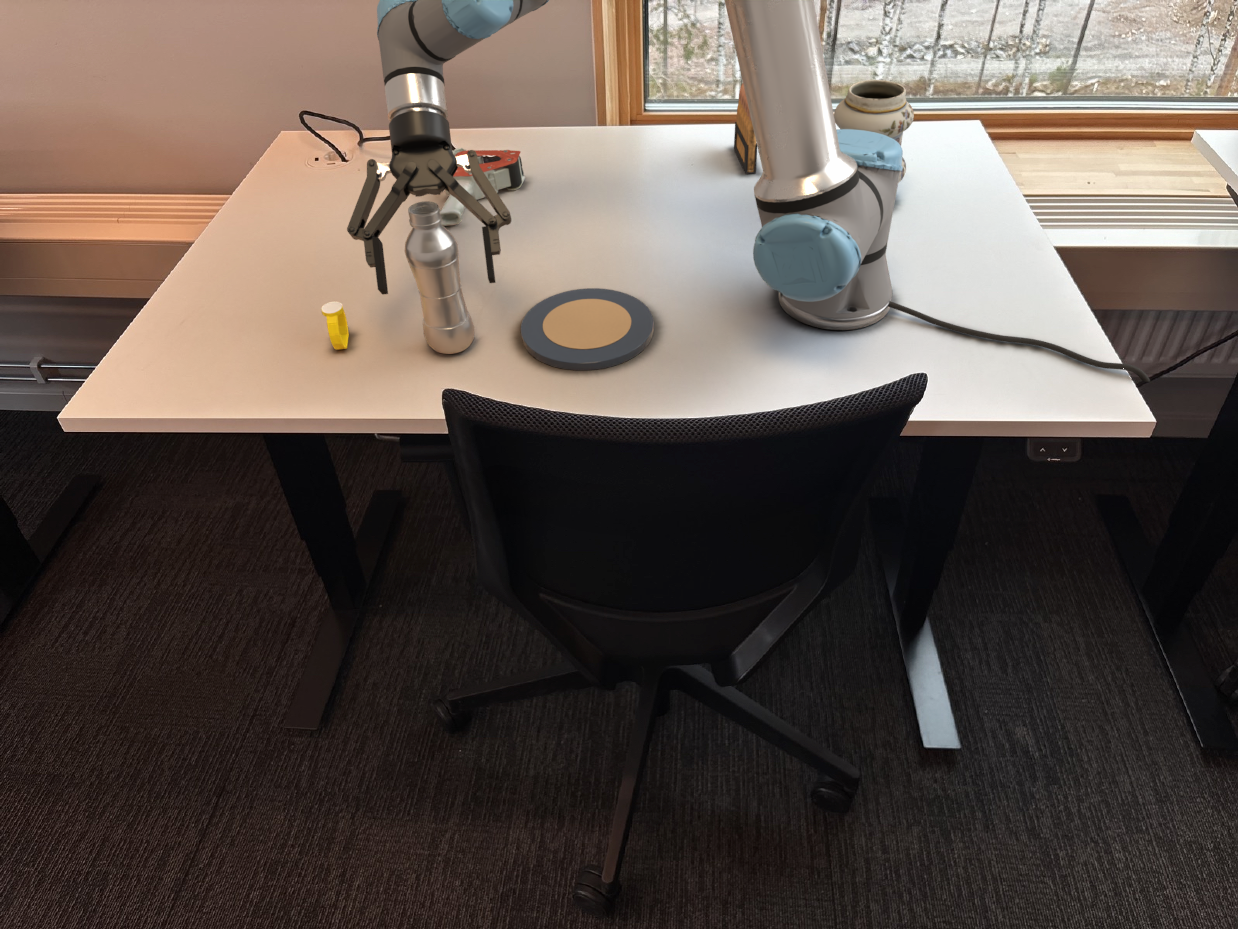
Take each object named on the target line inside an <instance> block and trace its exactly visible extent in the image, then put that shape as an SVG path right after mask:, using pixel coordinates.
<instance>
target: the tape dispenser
mask: <svg viewBox="0 0 1238 929" xmlns="http://www.w3.org/2000/svg"><path fill="white" fill-rule="evenodd" d="M469 150H470V149H468V150H467V149H464V148H463V147H458V148H455V149H454V150H452V152H453V154H454V156H455V157H457V156H462V155H466V154H467V152H468V151H469ZM473 150H474V151H475V152H476V154H477V158H478V162H479V166H480V168H481V169H482V171H483V172H484V174H485V175H486V177H487V178H488V180H489V181H490V183H491V184H492V186H493V188H494V189H495V191H496V192H497V194H498V193H499V190H502V189H506V190H507V191H516V190H519V189H521V187H522V185H523V184H524V181H525V179H526V176H525V172H524V169H523V163H522V157H521V156H520V154H521V151H520V150H512V149H501V150H500V149H499V150H498V149H491V150H490V149H487V150H485V149H482V150H479V149H477V150H476V149H473ZM486 156H490V157H493V156H495V157H497V158H498V157H499V160H496V161H490V162H484V157H486ZM453 178H454V179H456V181H457V182H458V183H459V184H460V185H461V186H462V187H463V188H464V189H465V190H466V191H467V192H468V193H469V194H471V195H472V196H473V197H474V198H475V199H476V200H477V201H479V200H481V199H484V198H486V197H485V195H484V194H483V192H482V191H481V189H480V188H479V186H478V185H477V183H476V182H475V180H474V178H473V176H472V173H467V172H465V170H464V169H463V168H462V167H458V168H457V170H456V172H455V174H454V176H453ZM444 191H445V194H446V195H447V196H448V197H447V199H446V200H445V202H444V204H443V206H442V208H441V209H440V214H441V216H442V222H441V224H442V225H443V226H444V227H445V226H446V227H447V226H456V225H459V224H460V223H461V222H462V220H463V219H462V218H463V216H462V215H463V213H464V212H465V209H466V207H465V206H464V205H463V204H462V203H460V202H459V201H458V200H457V199H456V198H455V197H453V196H452V195H451V194H450V193H449V192H448V191H447V190H446V189H445V190H444Z"/></svg>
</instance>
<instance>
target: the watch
mask: <svg viewBox="0 0 1238 929" xmlns="http://www.w3.org/2000/svg"><path fill="white" fill-rule="evenodd" d="M320 312H321V314H322V316H324V317H325V318H326V327H327V333H328V336H329V341H330V343H331V345H332V347H333V349H334V350H337V351H338V350H347V349H348V344H349V337H350V334H349V325H348V320H347V316H346V315H347V314H346V313H345V309H344V305H343V304H342V303H341V302H340V301H329V302H326V303H324V304H323V305H322V306H321V309H320Z"/></svg>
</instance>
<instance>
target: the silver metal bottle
mask: <svg viewBox="0 0 1238 929" xmlns="http://www.w3.org/2000/svg"><path fill="white" fill-rule="evenodd" d="M440 211H441V209H440V206H439V203H437V202H434V201H430V200H429V201H427V200H426V201H418V202H416V203H413V204H411V205H409V207H408V210H407V213H408V217H409V219H408V222H409V225H410V227H411V230H410V231H409V233H408V235H407V237H406V240H405V242H404V254H405V258H406V260H407V263H408V265H409V268H410V270H411V273H412V276H413V277H414V281H415V284H416V286H417V290H418V294H419V297H420V298H419V299H420V304H421V312H422V329H423V336H424V338H425V340H426V344H427V345H428V346H429V347H430V348H431V349H432V350H434V351H435V352H437V353H439V354H445V355H452V354H458V353H462V352H463V351H465V350H466V349H468V348H469V347H470V346H471V345H472V343H473V342H474V339H475V325H474V322H473V320H472V317H471V314H470V312H469V310H468V307H467V304H466V300H465V296H464V294H463V288H462V282H461V275H460V259H459V258H460V255H459V244H458V241H457V239H456V238H455V236H454V235H453V234H452V233H451V232H450V230H449V229H447V228H446V227H445V226H443V225H442V224H441V222H442V216H441V214H440Z"/></svg>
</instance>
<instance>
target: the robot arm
mask: <svg viewBox="0 0 1238 929" xmlns="http://www.w3.org/2000/svg"><path fill="white" fill-rule="evenodd" d="M548 2H550V0H379V1H378V3H377V7H376V19H377V28H376V29H377V31H376V36H377V40H378V44H379V53H380V54H379V55H380V62H381V70H382V78H383V85H384V95H385V106H386V114H387V119H388V121H389V124H388V131H389V132H388V133H389V140H390V149H391V158H390V161H389V162H377V161H376V159H373V158H369V159H368V160H367V162H366V178H365V181H364V183H363V186H362V188H361V190H360V194H359V197H358V199H357V202H356V204H355V206H354V209H353V212H352V214H351V217H350V219H349V222H348V225H347V227H346V232H347V233H348V234H349V235H350V237H351V238H352V239H353V240H355V241H363V245H364V254H365V261H366V263H367V266H368V267H369V268H375V276H376V286H377V290H378V291H379V293H380V295H389V290H388V280H387V273H386V272H387V271H386V262H385V253H384V245H383V242H382V240H381V239H380V238H379V237H380V236H381V234H382V233H383V231H384V230H385V229H386V227H387V225H388V224H389V223H390V221H391V220H392V219H393V217H394V215H395V214H396V213H397V211H398V210H399V208H400V207H401V206H402V204H403V203H404V202H406V200H408V198H409V196H410V195H412V196H415V197H417V198H419V197H424V196H426V195H431V196H439V195H441V194H442V193H443V192H444V191H446V190H447V191H448V192H449V193H450V194H451V195H452V196H453V197H455V198H456V199H457V200H458V201H459V202H460V203H462V204H463V205H464V206H465V209H467V210H468V211H469V212H470V213H471V214H472V215H473V216H474V217H475V218H476V219H477V220H479V221H480V223H482V224H483V225H484V226H481V233H482V239H483V247H484V257H485V258H484V259H485V266H486V273H487V280H488V283H489V284H495V283H496V276H495V267H494V266H495V265H494V259H493V256H498V255H501V251H502V250H501V241H500V233H499V231H500V229H501V228H502V227H504V226H509V225H510V224H511V223H512V216H511V212H510V210H509V208H507V205H506V204H505V203H504V201H503V200H502V197H501V196H500V195H499V194H498V193H497V192H496V191H495V189H494V188H493V186H492V184H491V183H490V181H489V180H488V178H487V177H486V175H485V174H484V172H483V171H482V169H481V168H480V166H479V162H478V158H477V154H476V152H475V151H474V150H475V149H468V150H469V151H468V152H467V154H466V155H462V156H457V157H455V156H454V154H453V152H452V151H453V146H452V138H451V137H452V136H451V129H450V128H451V127H450V122H449V120H448V117H449V112H448V110H449V109H448V102H447V94H446V84H445V78H444V68H443V67H444V64H445V63H448V61H450V60H452V59H454V58H456V56H458V55H460V54H461V53H463V52H465V51H466V50H468V49H470V48H472V47H474V46H475V45H477V44H478V43H480V42H482V41H484V40H486V39H489V38H490V37H492V35H494V34H496V33H498V32H499V31H501V30H502V29H503V28H505V27H507V26H508V25H511V24H512V23H514V22H516V21H517V20H519V19H520V18H523V17H524V16H526V15H528V14H530V13H532V12H534V11H536V10H539V9H540V8H541V7H543V6H545V5H546V4H548ZM724 4H725V9H726V14H727V18H728V23H729V27H730V31H731V35H732V40H733V44H734V50H735V53H736V58H737V62H738V66H739V71H740V76H741V79H742V83H743V85H744V89H745V94H746V98H747V103H748V107H749V111H750V116H751V120H752V125H753V129H754V134H755V138H756V143H757V152H758V156H759V160H760V165H761V168H762V172H761V175H760V177H759V178H758V180H757V182H756V183H755V185H754V187H753V194H754V199H755V203H756V209H757V212H758V217H759V222H760V225H761V227H760V229H759V231H758V233H757V234H756V236H755V238H754V245H753V250H752V258H753V264H754V266H755V268H756V271H757V273H758V274H759V277H760V278H761V279H762V281H764V283H765V284H766V285H767V286H768V287H769V288H771V290H773V291H777V292H778V303H779V305H780V307H781V308H782V310H783V311H784V312H785V314H787V315H789V317H791V318H793V319H794V320H796V321H798V322H800V323H802V324H805V325H807V326H811V327H814V328H818V329H823V330H831V331H848V330H850V331H851V330H857V329H862V328H865V327H868V326H871V325H874V324H876V323H877V322H879V321H881V320H882V319H883V318H884V317H885V316H886V315H887V314H888V313H889V311H890V309H894V310H897V311H899V312H902V313H905V314H907V315H910V316H913V317H915V318H917V319H919V320H922V321H925V322H927V323H929V324H933V325H935V326H938V327H941V328H944V329H947V330H950V331H953V332H958V333H960V334H964V335H969V336H973V337H977V338H981V339H987V340H992V341H997V342H1006V343H1014V344H1025V345H1029V346H1035V347H1040V348H1043V349H1048V350H1051V351H1054V352H1057V353H1059V354H1062V355H1064V356H1066V357H1069V358H1071V359H1074V360H1076V361H1078V362H1081V363H1084V364H1086V365H1089V366H1093V367H1096V368H1100V369H1108V370H1120V371H1121V370H1122V371H1128V372H1131V373H1133V374H1135V375H1136V376H1138V378H1139V379H1140V380H1141V381H1143V382H1145V383H1148V382H1150V381H1151V379H1150V378H1149V376H1148V374H1146V372H1145V371H1143V369H1141V368H1139V367H1138V366H1136V365H1132V364H1128V363H1120V362H1119V363H1118V362H1107V361H1100V360H1096V359H1093V358H1090V357H1087V356H1084V355H1082V354H1080V353H1077V352H1075V351H1072V350H1070V349H1068V348H1066V347H1063V346H1060V345H1059V344H1058V345H1057V344H1055V343H1052V342H1048V341H1044V340H1041V339H1034V338H1029V337H1021V336H1010V335H1002V334H995V333H991V332H986V331H980V330H977V329H972V328H968V327H964V326H960V325H958V324H957V325H956V324H954V323H949V322H946V321H943V320H941V319H938V318H935V317H933V316H930V315H927V314H925V313H923V312H920V311H918V310H915V309H913V308H910V307H908V306H905V305H902V304H899V303H897V302H893V301H892V299H893V287H892V281H891V276H890V270H889V265H888V259H887V249H888V248H887V247H888V241H889V237H890V232H891V227H892V221H893V215H894V208H895V203H896V198H897V192H898V186H899V183H900V182H899V176H900V171H902V169H903V167H902V157H904V156H903V155H904V154H903V147H902V144H901V145H900V144H899V143H898V142H897V141H895V140H894V139H892V138H890V137H888V136H886V135H883V134H879V133H875V132H870V131H864V130H854V129H840V128H839V129H838V128H837V124H836V123H835V119H834V109H833V108H834V107H833V102H832V96H831V92H830V91H831V90H830V85H829V80H828V74H827V68H826V63H825V56H824V52H823V47H822V46H823V45H822V40H821V35H820V29H819V23H818V18H817V12H816V6H815V1H814V0H724ZM458 167H462V168H463V169H464V170H465V172H467V173H472V176H473V178H474V180H475V182H476V183H477V185H478V186H479V188H480V189H481V191H482V192H483V194H484V195H485V197H484V198H486V200H487V202H488V203H489V205H490V206H491V208H492V210H494V212H495V215H493V214H492V212H490V211H489V210H488V209H487V208H485V207H484V205H483V204H481V202H479V200H476V199H475V198H474V197H473V196H472V195H471V194H469V193H468V192H467V191H466V190H465V189H464V188H463V187H462V186H461V185H460V184H459V183H458V182H457V181H456V179H454V178H453V176H454V174H455V172H456V170H457V168H458ZM389 174H391V175H392V176H393V177H394V179H395V181H394V183H393V184H392V186H391V189H390V191H389V193H388V194H387V195H386V197H385V198H384V200H383V201H382V202H381V204H380V206H379V207H378V208H377V210H376V211H375V212H374V214H373V215H372V216H371V218H370V219H369V217H370V214H371V212H372V210H373V206H374V205H375V201H376V199H377V197H378V193H379V191H380V188H381V182H383V181H385V180H386V178H387V176H388V175H389ZM898 182H899V183H898ZM445 189H446V190H445ZM368 220H369V221H368ZM367 222H368V223H367ZM1123 368H1124V369H1123Z"/></svg>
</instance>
